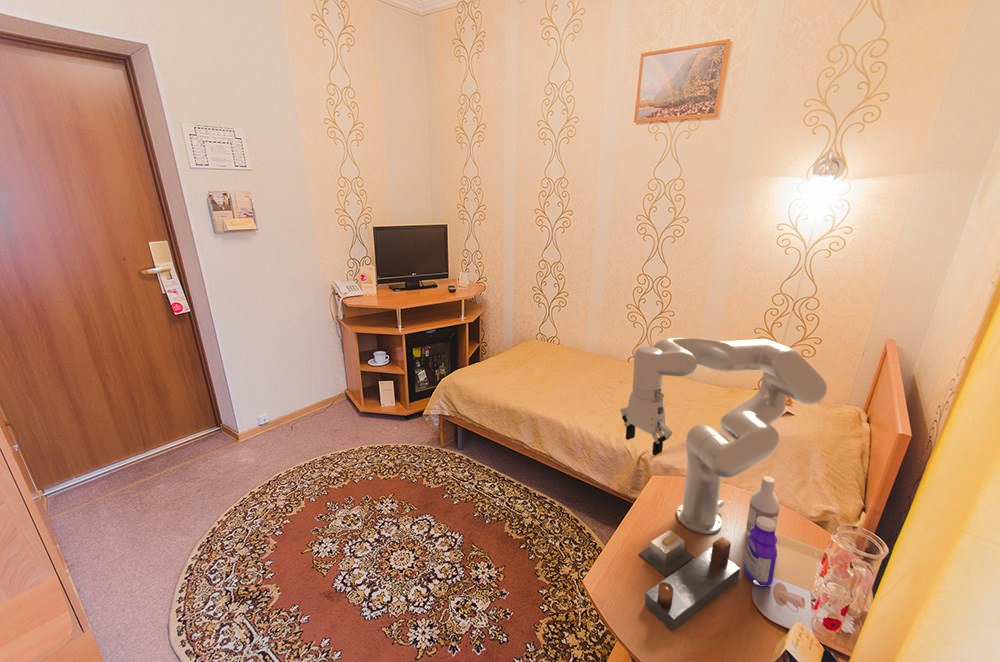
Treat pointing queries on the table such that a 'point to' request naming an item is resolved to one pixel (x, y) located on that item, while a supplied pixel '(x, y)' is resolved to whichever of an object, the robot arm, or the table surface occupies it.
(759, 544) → the bottle
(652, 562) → the rubber mat
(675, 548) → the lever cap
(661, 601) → the body
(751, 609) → the table surface
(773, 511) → the bath foam
